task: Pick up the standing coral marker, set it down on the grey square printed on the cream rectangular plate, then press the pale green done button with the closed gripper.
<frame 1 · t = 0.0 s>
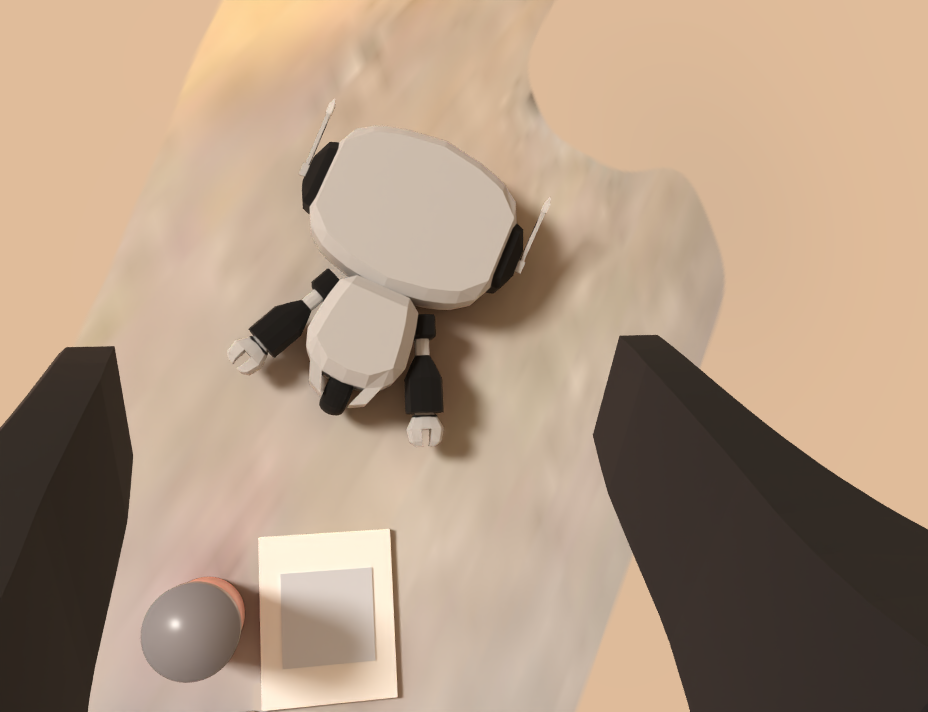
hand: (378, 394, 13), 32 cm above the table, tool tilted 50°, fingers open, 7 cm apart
cream rectangular plate: (327, 616, 43), on the table
marker: (206, 615, 42), on the table
robot toy: (382, 290, 47), on the table
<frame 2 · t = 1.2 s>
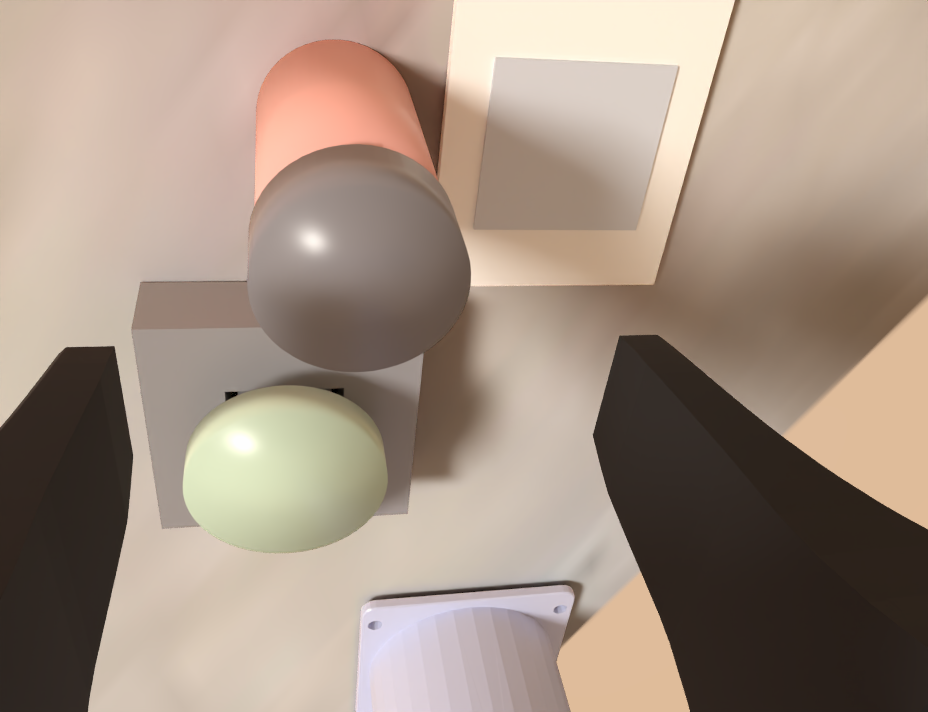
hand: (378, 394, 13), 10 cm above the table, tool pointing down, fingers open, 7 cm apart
cream rectangular plate: (567, 144, 22), on the table
marker: (336, 117, 20), on the table
done button: (286, 448, 23), point 3 cm above the table, slide at 0.0 cm
button housing: (284, 384, 25), on the table
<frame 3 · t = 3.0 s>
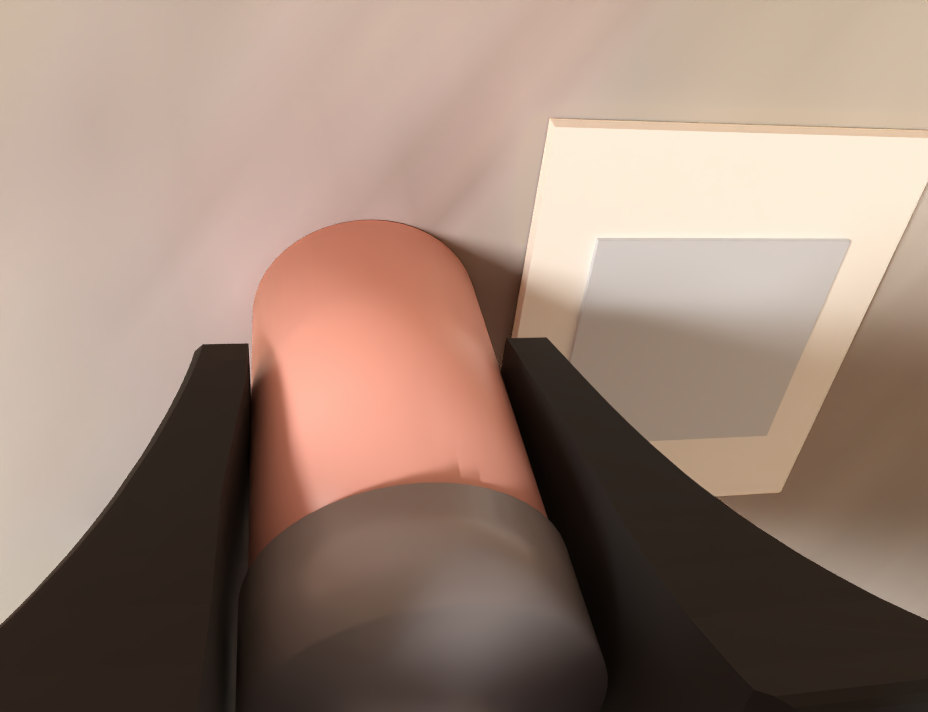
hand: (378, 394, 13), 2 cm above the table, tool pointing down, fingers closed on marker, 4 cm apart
cream rectangular plate: (684, 335, 16), on the table
marker: (366, 317, 14), on the table, touching gripper
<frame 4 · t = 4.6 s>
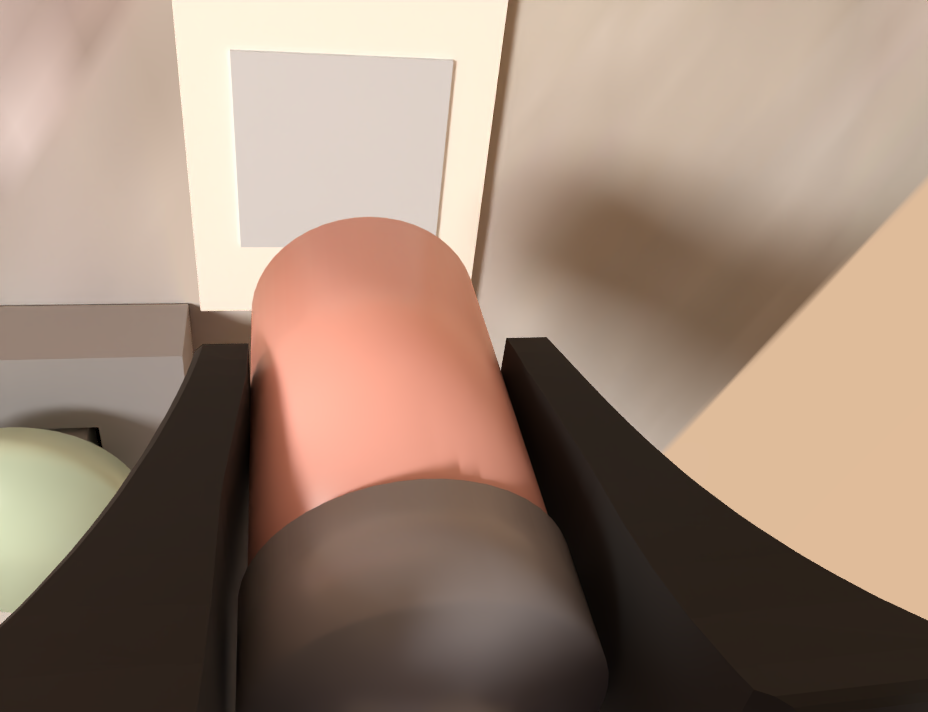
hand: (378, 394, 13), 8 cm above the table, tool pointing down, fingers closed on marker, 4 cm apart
cream rectangular plate: (340, 150, 19), on the table
marker: (365, 314, 14), point 6 cm above the table, touching gripper
done button: (35, 495, 20), point 3 cm above the table, slide at 0.0 cm
button housing: (55, 419, 22), on the table
when the fingers open (3 cm above the table, at t = 6.2 s): marker stays where it is, resting on cream rectangular plate.
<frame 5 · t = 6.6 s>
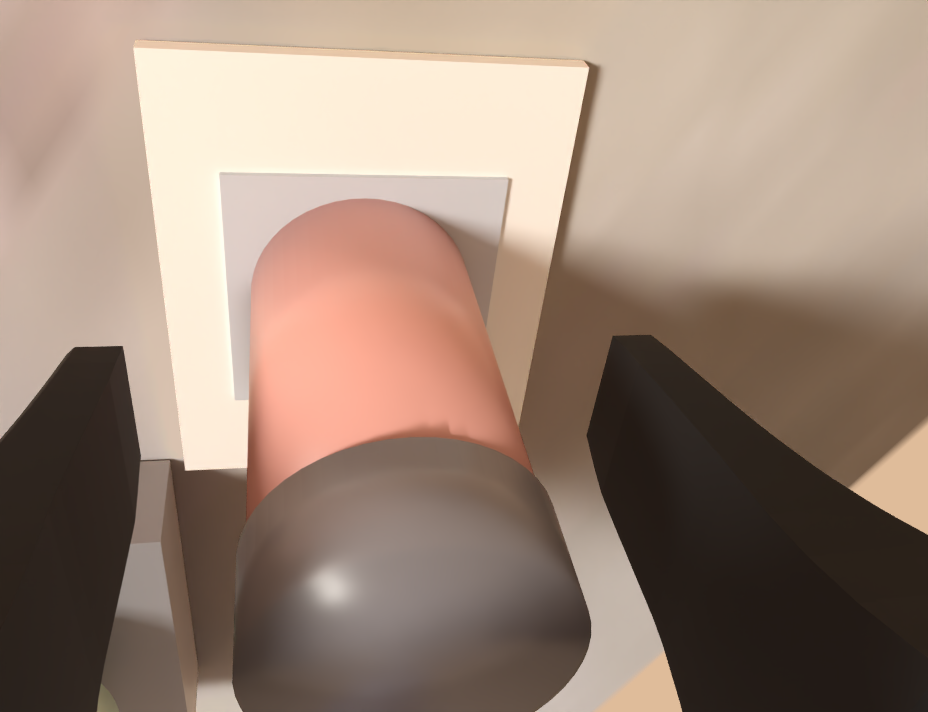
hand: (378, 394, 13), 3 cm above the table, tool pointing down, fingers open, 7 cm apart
cream rectangular plate: (361, 283, 15), on the table
marker: (361, 294, 15), resting on cream rectangular plate
button housing: (9, 588, 18), on the table
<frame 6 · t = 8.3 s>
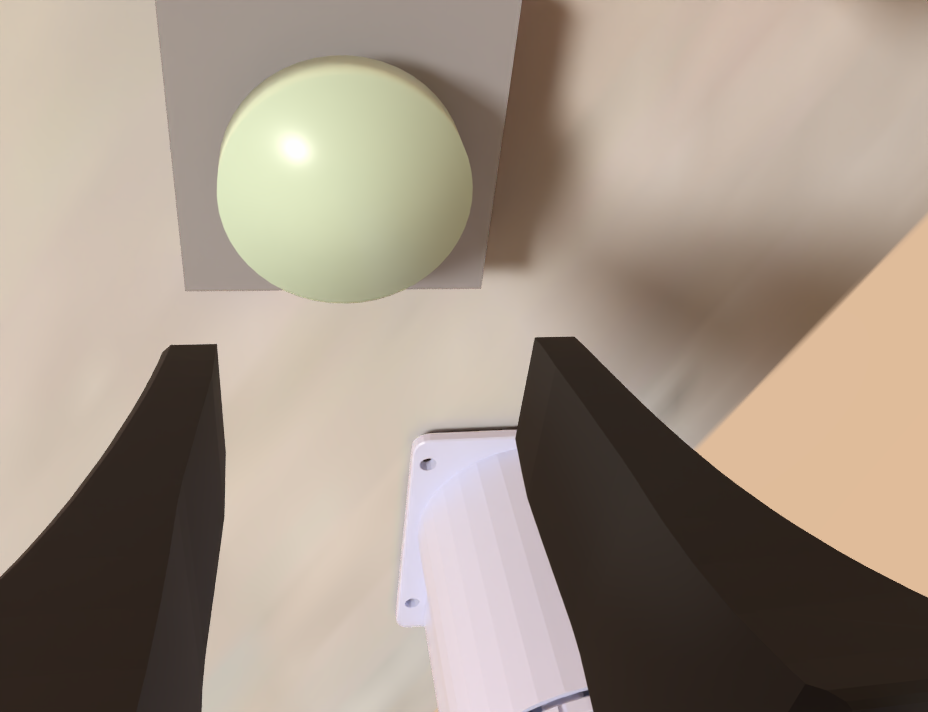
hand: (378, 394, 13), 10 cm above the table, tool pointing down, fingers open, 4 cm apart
done button: (343, 167, 18), point 3 cm above the table, slide at 0.0 cm
button housing: (335, 116, 20), on the table
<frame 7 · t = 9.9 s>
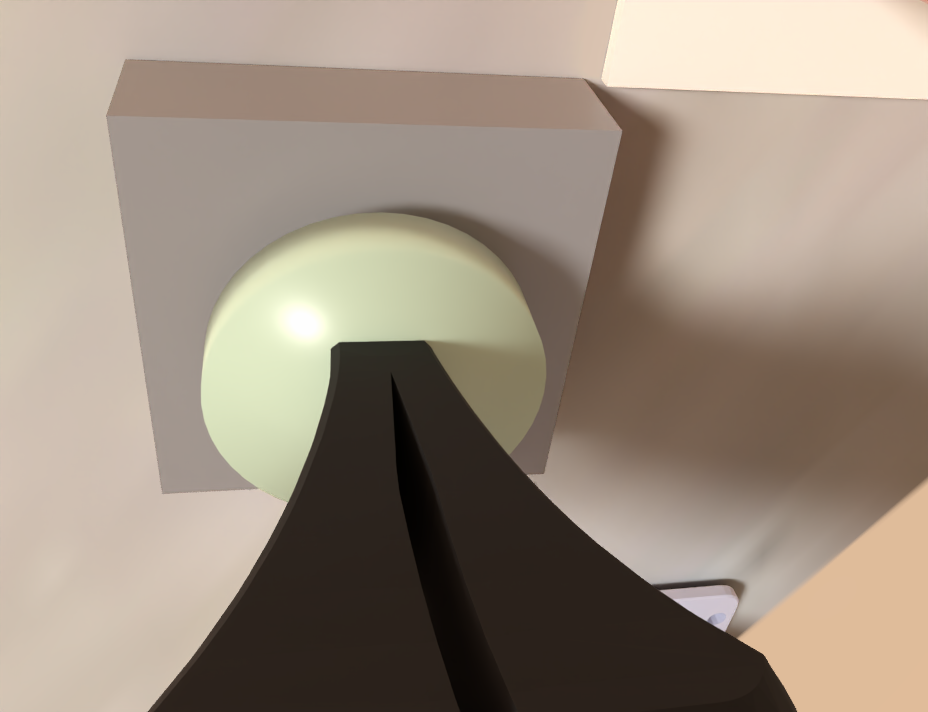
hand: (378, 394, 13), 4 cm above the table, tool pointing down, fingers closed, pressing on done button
done button: (370, 340, 14), point 2 cm above the table, slide at 0.4 cm, touching gripper
button housing: (358, 263, 16), on the table
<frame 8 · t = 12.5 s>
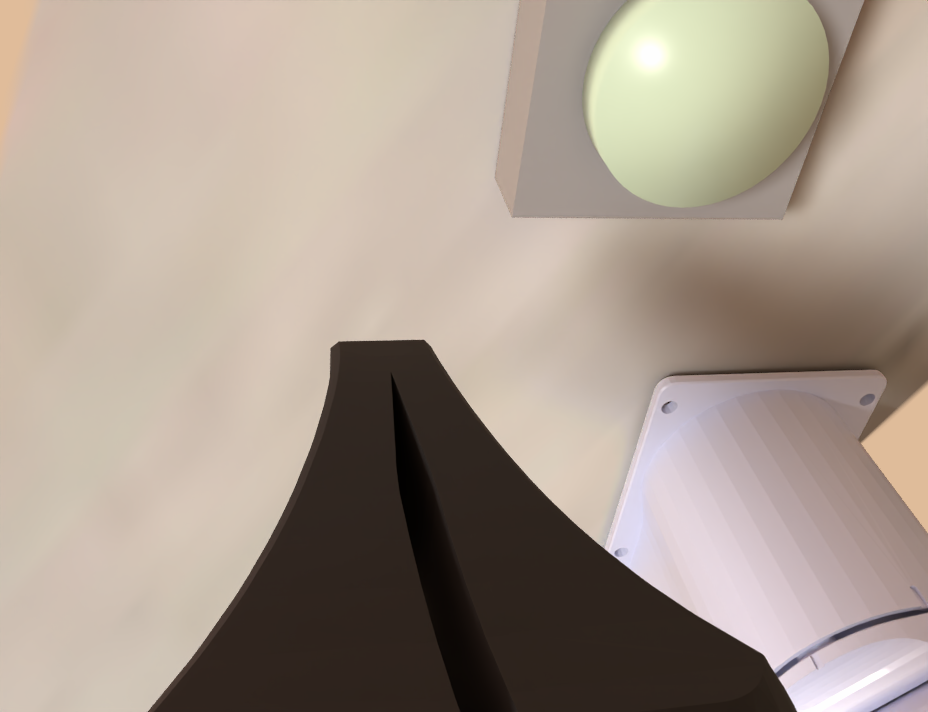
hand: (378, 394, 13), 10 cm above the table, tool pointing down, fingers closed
done button: (687, 75, 19), point 2 cm above the table, slide at 0.7 cm
button housing: (658, 45, 21), on the table
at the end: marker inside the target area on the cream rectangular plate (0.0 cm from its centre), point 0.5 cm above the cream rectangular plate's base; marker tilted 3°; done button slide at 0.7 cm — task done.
